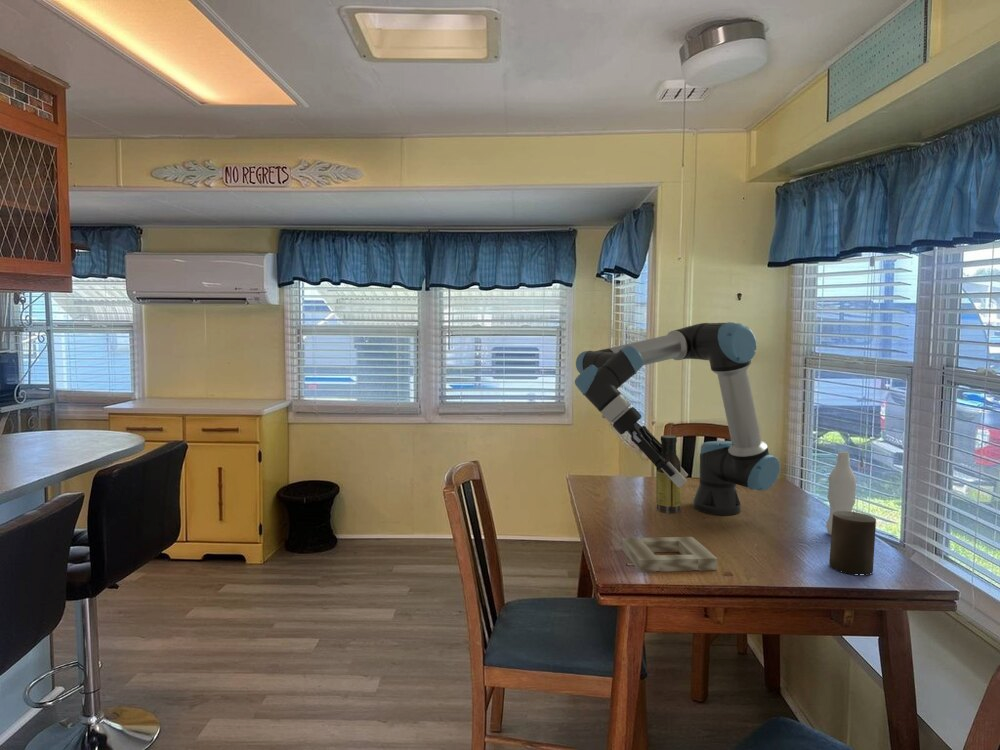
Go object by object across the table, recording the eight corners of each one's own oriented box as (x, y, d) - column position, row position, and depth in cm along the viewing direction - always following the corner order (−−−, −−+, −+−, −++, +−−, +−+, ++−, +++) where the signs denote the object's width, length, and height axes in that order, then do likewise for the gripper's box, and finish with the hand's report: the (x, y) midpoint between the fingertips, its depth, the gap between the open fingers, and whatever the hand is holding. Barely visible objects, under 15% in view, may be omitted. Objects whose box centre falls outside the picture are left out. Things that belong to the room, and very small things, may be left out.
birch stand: (691, 547, 169) (692, 536, 169) (717, 570, 153) (717, 558, 153) (621, 548, 167) (621, 538, 167) (639, 571, 152) (639, 560, 151)
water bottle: (850, 533, 182) (854, 450, 180) (855, 540, 176) (860, 455, 174) (823, 530, 185) (827, 449, 183) (828, 537, 178) (832, 453, 176)
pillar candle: (857, 578, 149) (861, 518, 148) (820, 564, 157) (824, 507, 156) (881, 572, 153) (885, 514, 152) (844, 559, 162) (847, 503, 161)
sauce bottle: (677, 508, 162) (680, 434, 161) (683, 515, 156) (685, 438, 155) (653, 507, 163) (655, 433, 161) (657, 514, 156) (660, 437, 155)
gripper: (617, 419, 172) (675, 481, 168) (604, 429, 154) (669, 499, 150) (636, 401, 170) (696, 464, 165) (626, 410, 152) (692, 480, 147)
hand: (683, 481), depth 157 cm, fingers closed on sauce bottle, 6 cm apart
